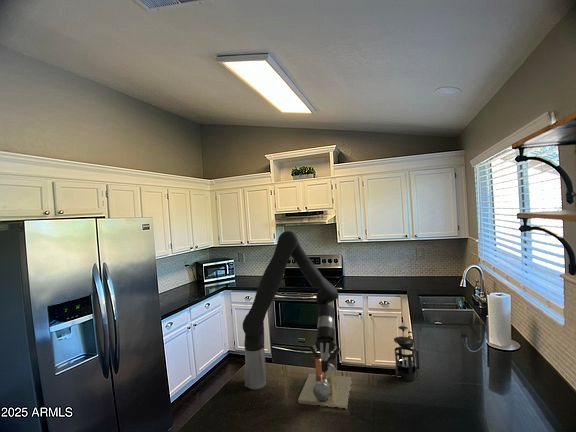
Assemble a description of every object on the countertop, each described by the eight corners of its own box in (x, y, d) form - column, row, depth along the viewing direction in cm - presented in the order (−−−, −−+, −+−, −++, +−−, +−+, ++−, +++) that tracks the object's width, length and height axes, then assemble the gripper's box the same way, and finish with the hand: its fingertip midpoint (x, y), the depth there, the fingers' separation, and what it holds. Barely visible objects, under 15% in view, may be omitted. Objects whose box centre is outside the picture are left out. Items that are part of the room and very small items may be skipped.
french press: (400, 382, 137) (397, 331, 137) (390, 372, 146) (387, 324, 147) (424, 379, 139) (421, 329, 139) (413, 369, 148) (410, 322, 148)
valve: (298, 403, 126) (296, 375, 126) (309, 376, 147) (308, 352, 147) (346, 409, 120) (345, 379, 120) (351, 380, 141) (350, 355, 142)
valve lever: (321, 364, 134) (320, 342, 134) (327, 364, 133) (326, 343, 134) (315, 384, 118) (314, 360, 118) (322, 385, 117) (321, 360, 117)
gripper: (309, 325, 130) (305, 367, 119) (340, 325, 127) (339, 369, 115) (312, 332, 136) (309, 374, 124) (342, 333, 132) (342, 376, 120)
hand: (324, 371), depth 119 cm, fingers closed
